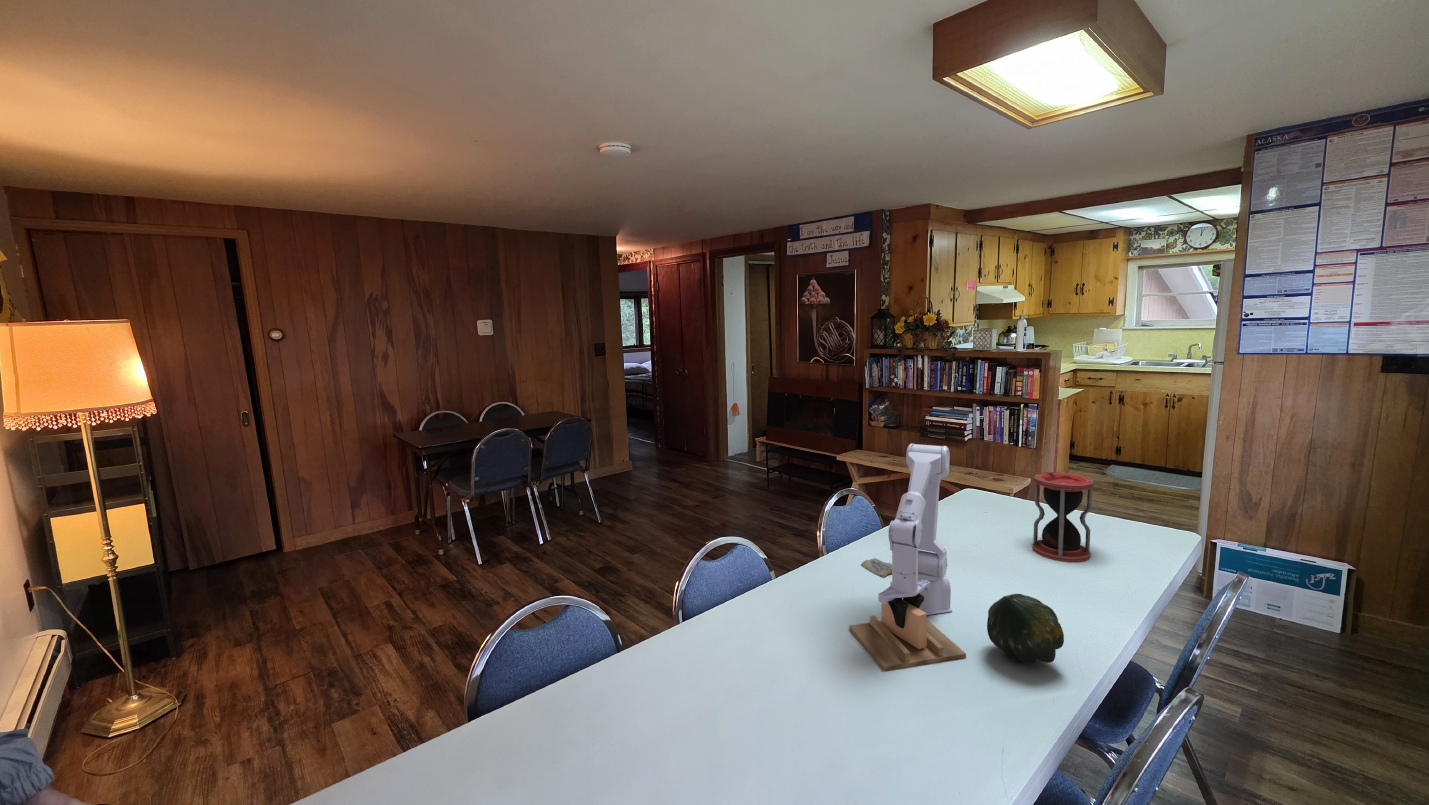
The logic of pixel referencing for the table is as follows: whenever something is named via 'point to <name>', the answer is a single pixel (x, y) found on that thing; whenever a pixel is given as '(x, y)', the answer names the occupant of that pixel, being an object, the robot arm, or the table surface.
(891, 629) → the clay block
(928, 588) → the robot arm
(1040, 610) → the squash
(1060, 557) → the hourglass
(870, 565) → the ceramic fragment
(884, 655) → the ribbed wooden panel
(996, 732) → the table surface
